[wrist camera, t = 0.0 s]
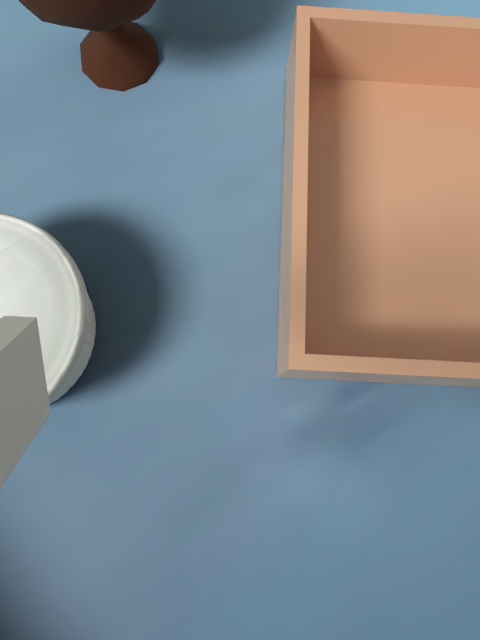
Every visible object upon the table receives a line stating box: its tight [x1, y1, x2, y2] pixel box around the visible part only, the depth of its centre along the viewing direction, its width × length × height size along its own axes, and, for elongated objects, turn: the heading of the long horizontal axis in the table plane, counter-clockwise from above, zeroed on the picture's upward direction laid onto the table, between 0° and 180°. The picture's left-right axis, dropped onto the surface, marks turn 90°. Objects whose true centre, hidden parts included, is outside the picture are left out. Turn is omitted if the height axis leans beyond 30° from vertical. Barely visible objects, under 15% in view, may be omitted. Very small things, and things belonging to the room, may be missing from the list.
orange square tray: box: [277, 5, 480, 387], centre depth 26 cm, size 22×22×5 cm
